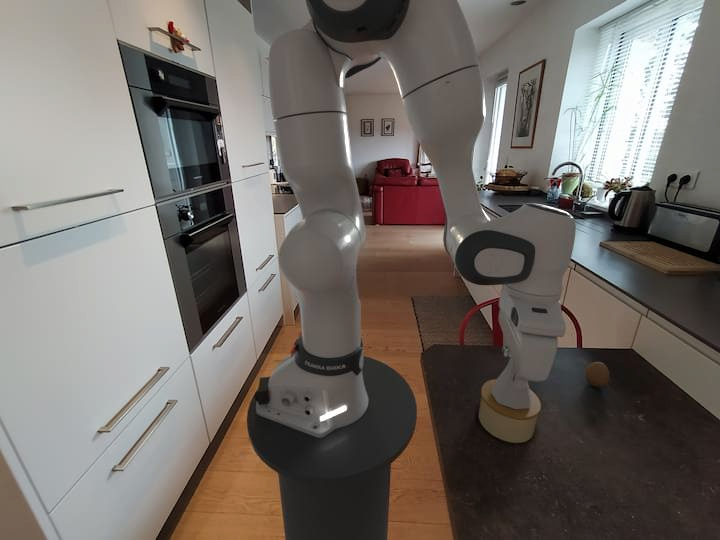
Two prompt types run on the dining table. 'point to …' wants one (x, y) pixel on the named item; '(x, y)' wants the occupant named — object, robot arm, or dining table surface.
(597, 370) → the egg
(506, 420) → the tea tin
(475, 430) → the dining table surface
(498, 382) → the flask
